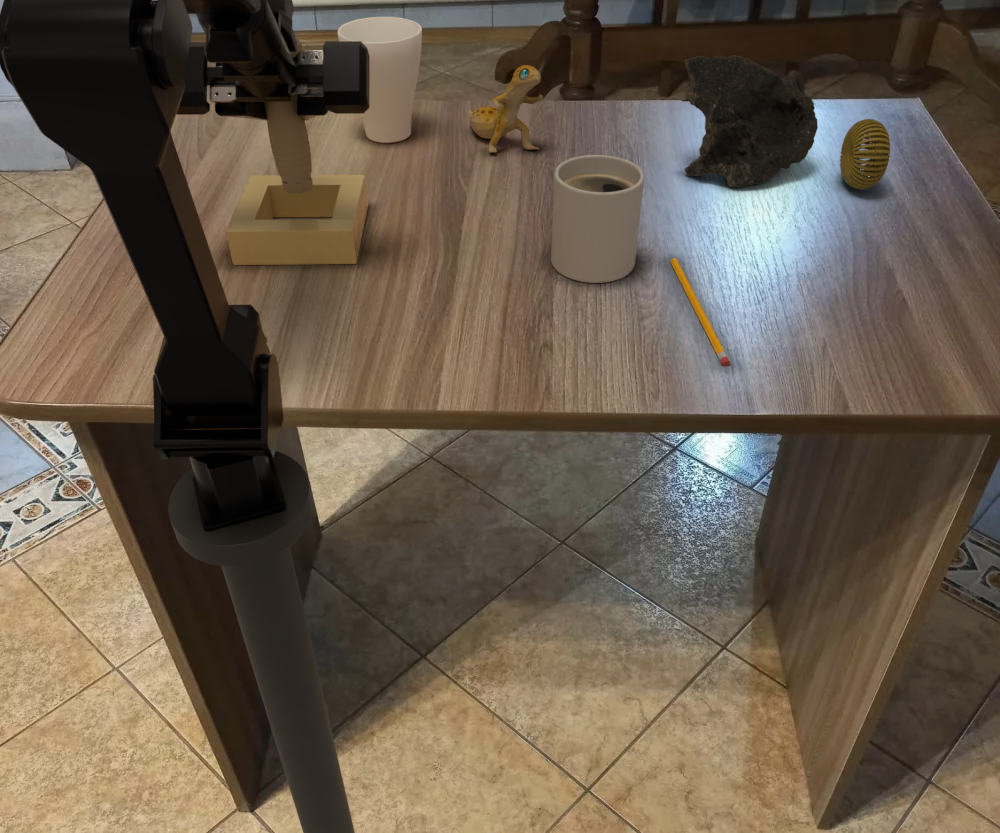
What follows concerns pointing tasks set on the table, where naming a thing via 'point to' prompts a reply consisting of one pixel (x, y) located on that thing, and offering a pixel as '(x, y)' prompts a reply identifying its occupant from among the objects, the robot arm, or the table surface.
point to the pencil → (700, 313)
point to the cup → (388, 73)
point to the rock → (748, 119)
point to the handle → (290, 143)
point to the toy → (507, 109)
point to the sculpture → (865, 154)
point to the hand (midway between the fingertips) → (288, 115)
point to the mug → (596, 217)
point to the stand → (299, 222)
